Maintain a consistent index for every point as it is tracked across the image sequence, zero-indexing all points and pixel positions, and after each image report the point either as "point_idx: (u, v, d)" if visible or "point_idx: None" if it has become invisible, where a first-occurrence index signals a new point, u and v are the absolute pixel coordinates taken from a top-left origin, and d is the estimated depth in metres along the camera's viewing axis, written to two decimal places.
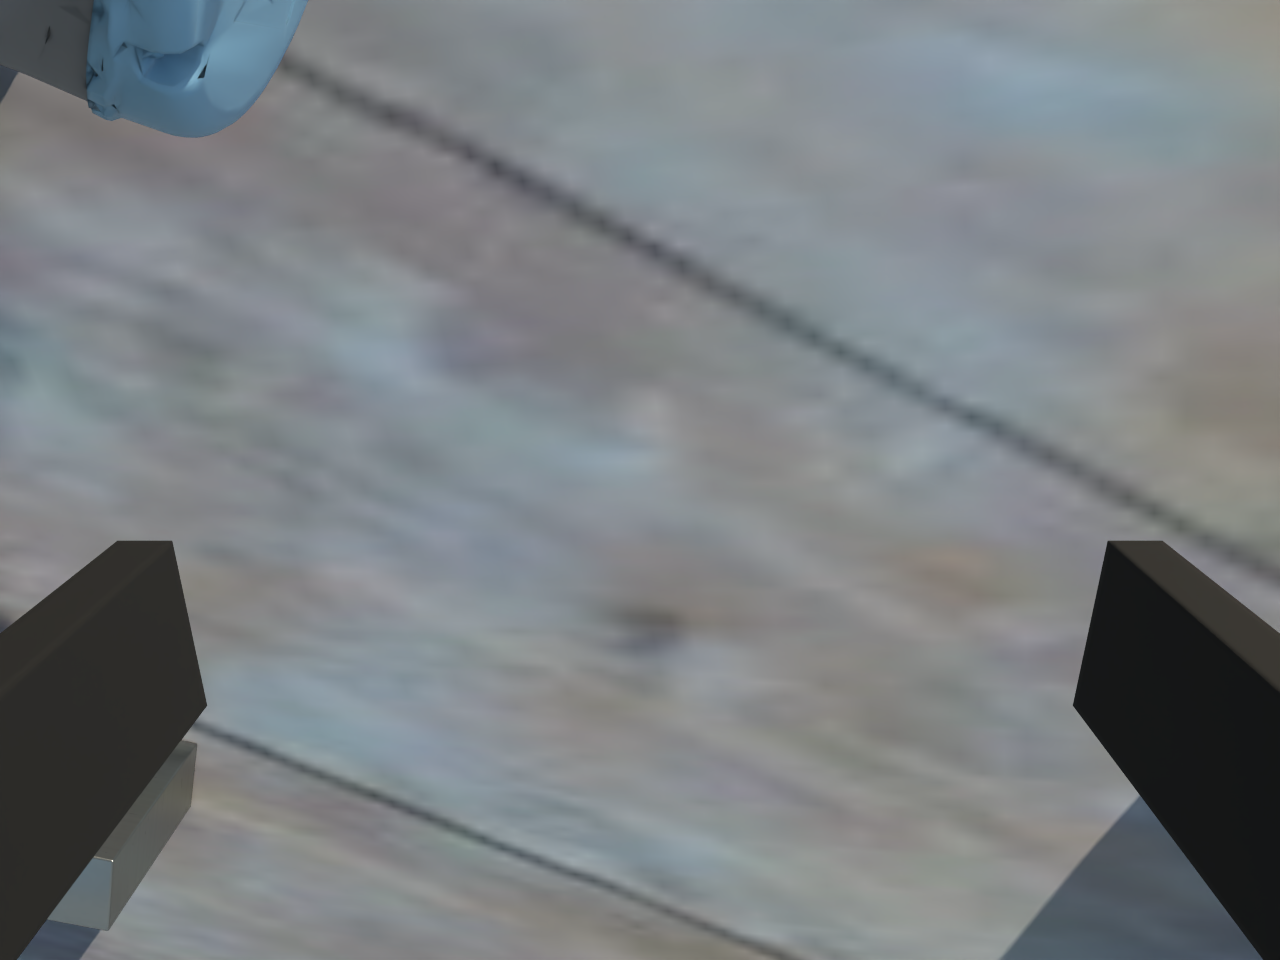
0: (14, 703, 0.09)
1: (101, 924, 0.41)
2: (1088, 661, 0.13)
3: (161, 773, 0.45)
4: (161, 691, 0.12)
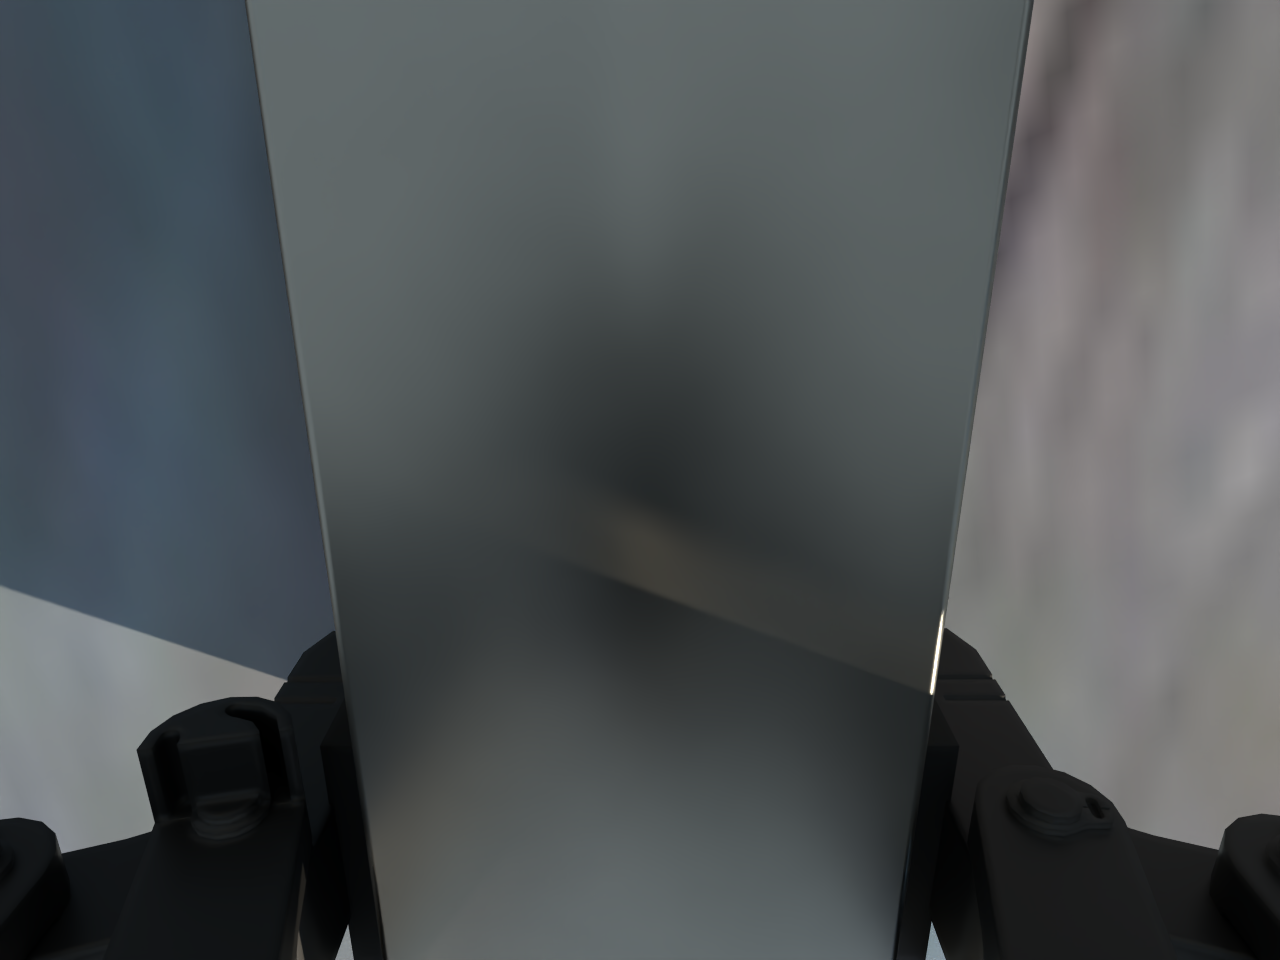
0: None
1: None
2: None
3: None
4: None
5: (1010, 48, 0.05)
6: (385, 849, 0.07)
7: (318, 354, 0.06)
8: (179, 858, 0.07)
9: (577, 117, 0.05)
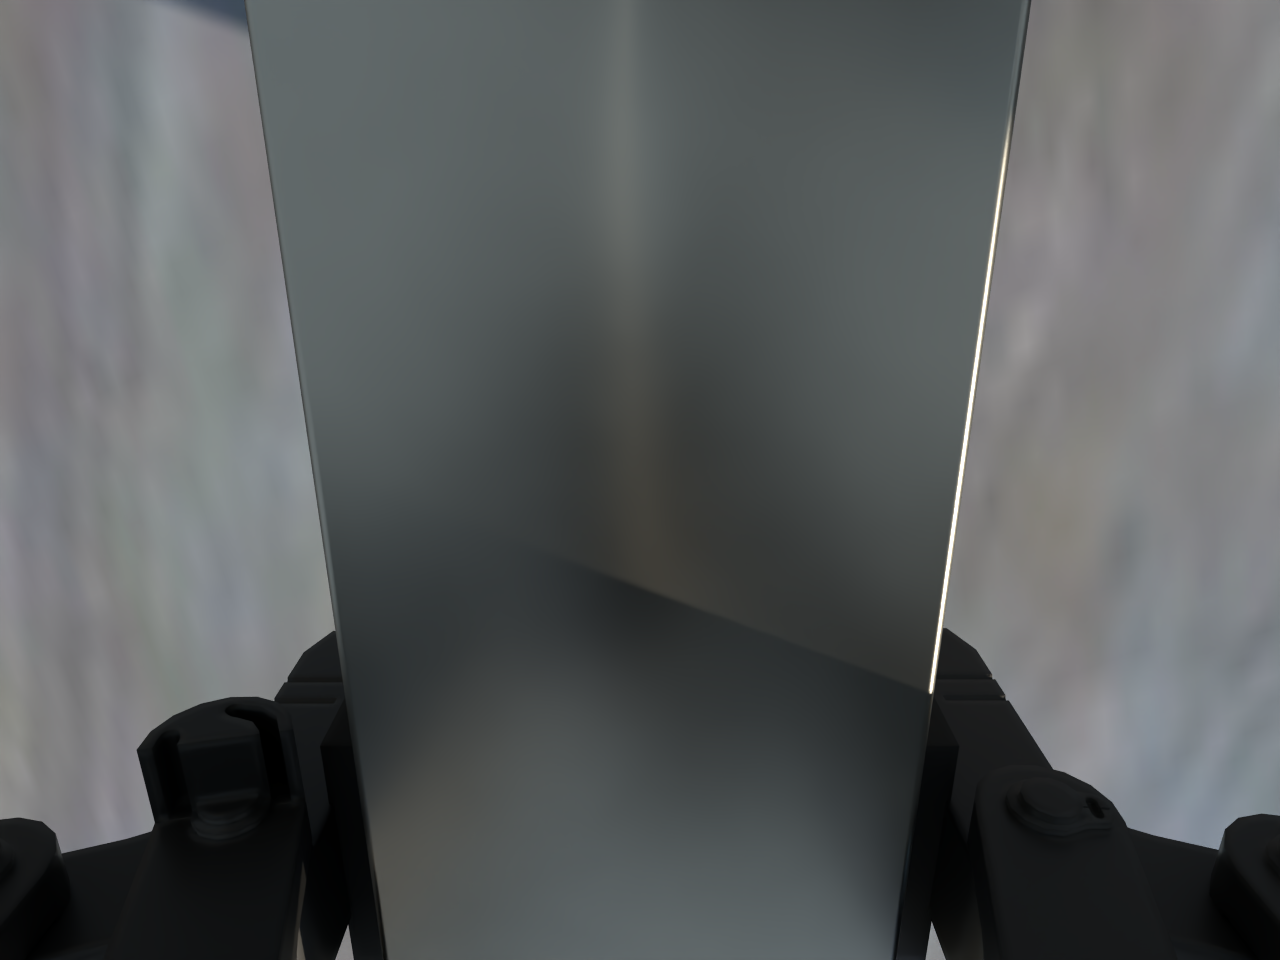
0: None
1: None
2: None
3: None
4: None
5: (1008, 44, 0.05)
6: (385, 846, 0.07)
7: (317, 351, 0.06)
8: (179, 858, 0.07)
9: (575, 114, 0.05)
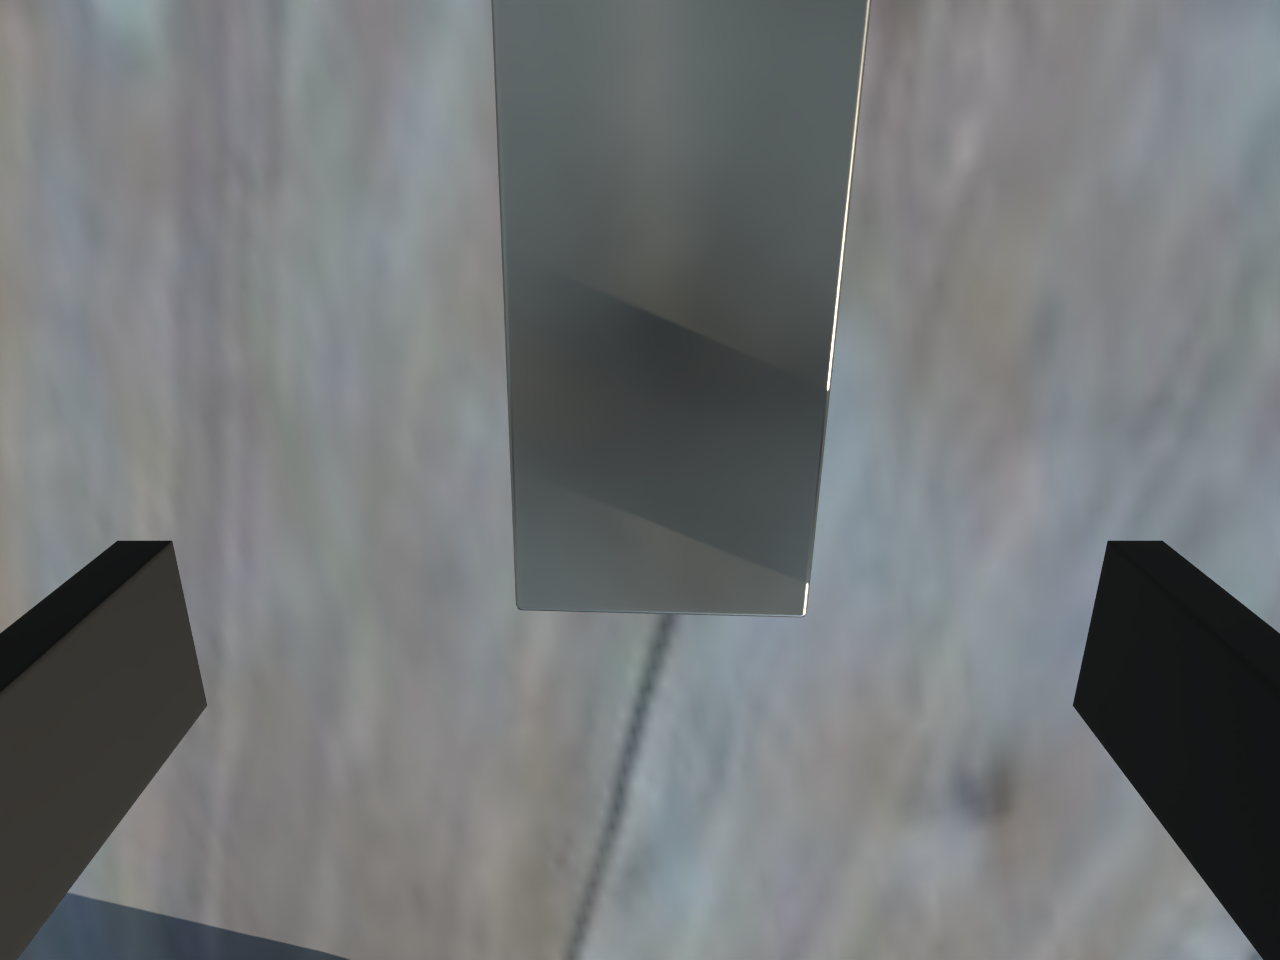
0: (13, 703, 0.09)
1: (540, 594, 0.13)
2: (1087, 662, 0.13)
3: None
4: (161, 691, 0.12)
5: None
6: (513, 213, 0.11)
7: None
8: None
9: None
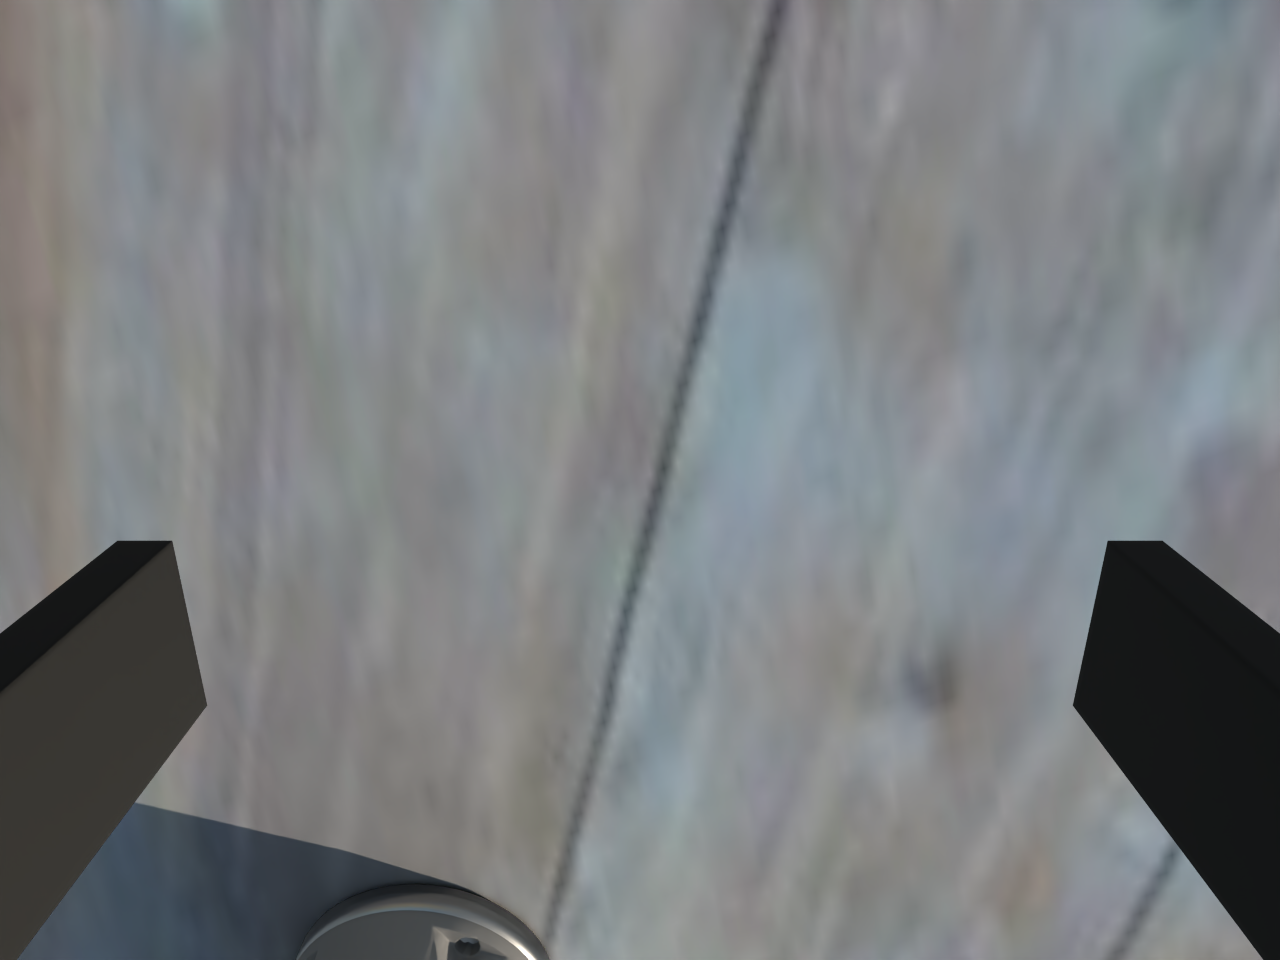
0: (14, 703, 0.09)
1: None
2: (1087, 662, 0.13)
3: None
4: (161, 691, 0.12)
5: None
6: None
7: None
8: None
9: None
